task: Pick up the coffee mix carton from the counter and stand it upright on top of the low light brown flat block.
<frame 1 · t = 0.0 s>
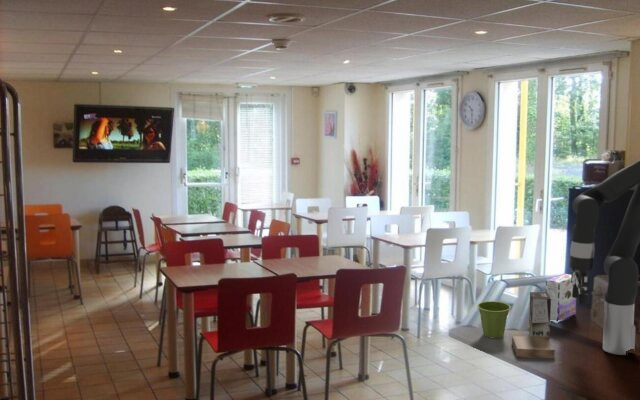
hand: (578, 301, 226), 17 cm above the counter, tool pointing down, fingers open, 8 cm apart
coffee box: (539, 338, 240), on the counter
candy box: (560, 318, 261), on the counter
light brown flat block: (532, 351, 228), on the counter
plant pot: (493, 336, 244), on the counter
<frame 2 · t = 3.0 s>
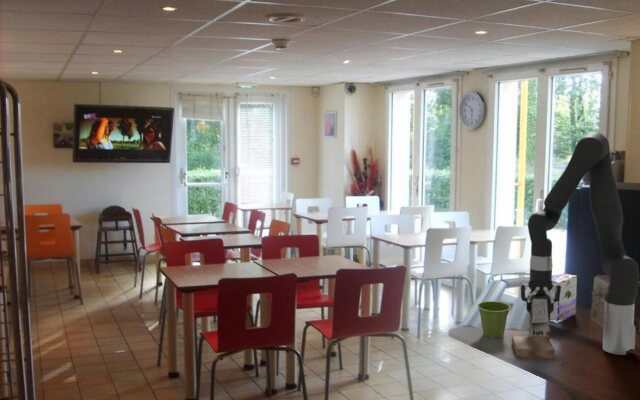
hand: (539, 312, 238), 10 cm above the counter, tool pointing down, fingers closed on coffee box, 6 cm apart
coffee box: (539, 338, 240), on the counter, touching gripper
everything else where it was.
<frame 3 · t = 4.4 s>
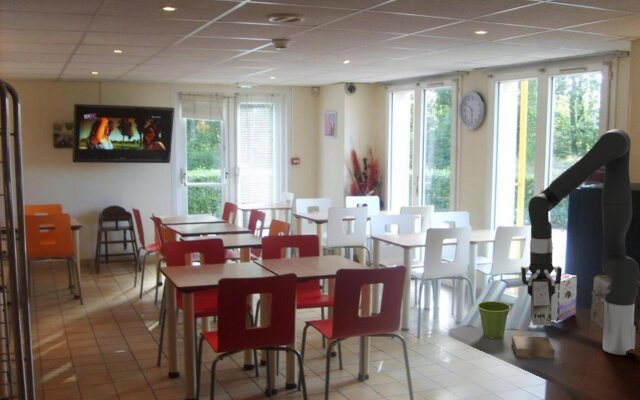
hand: (541, 295, 238), 16 cm above the counter, tool pointing down, fingers closed on coffee box, 6 cm apart
coffee box: (541, 321, 239), point 6 cm above the counter, touching gripper
everything else where it was.
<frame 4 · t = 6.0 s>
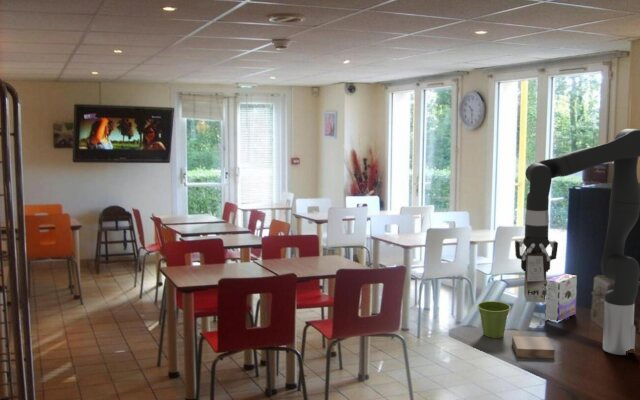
hand: (535, 270, 225), 28 cm above the counter, tool pointing down, fingers closed on coffee box, 6 cm apart
coffee box: (534, 299, 227), point 18 cm above the counter, touching gripper
everything else where it was.
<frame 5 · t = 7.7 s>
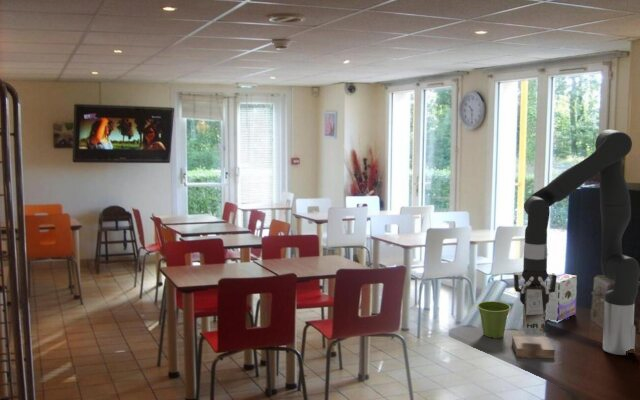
hand: (534, 303, 225), 17 cm above the counter, tool pointing down, fingers closed on coffee box, 6 cm apart
coffee box: (533, 331, 227), point 7 cm above the counter, touching gripper
everything else where it was.
when the fingers open (14 cm above the counter, at t = 8.8 s): coffee box drops 1 cm, resting on light brown flat block.
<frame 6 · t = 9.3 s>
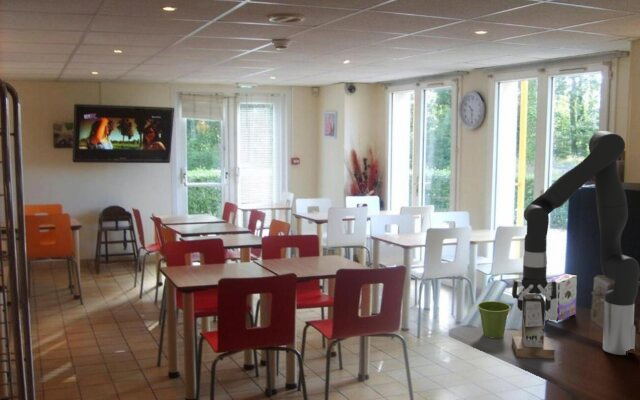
hand: (533, 310, 226), 15 cm above the counter, tool pointing down, fingers open, 8 cm apart
coffee box: (532, 343, 227), point 3 cm above the counter, touching light brown flat block
everything else where it was.
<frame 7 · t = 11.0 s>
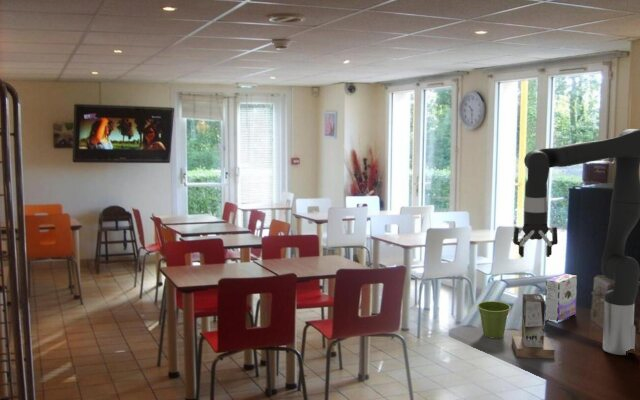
hand: (534, 256, 227), 32 cm above the counter, tool pointing down, fingers open, 8 cm apart
nothing on the counter moved.
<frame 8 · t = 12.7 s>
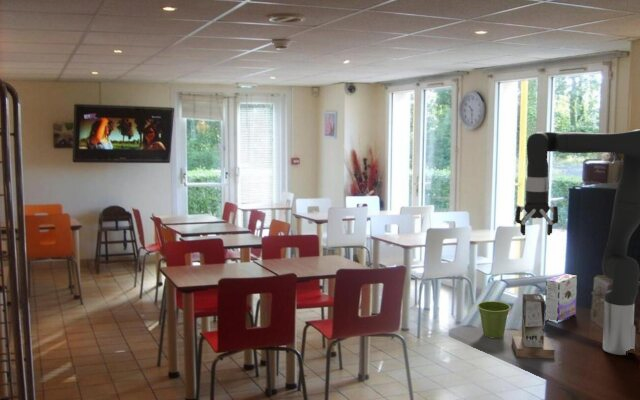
hand: (536, 234, 235), 38 cm above the counter, tool pointing down, fingers open, 8 cm apart
nothing on the counter moved.
at the end: coffee box inside the target area on the light brown flat block (0.1 cm from its centre), point 2.8 cm above the light brown flat block's base; coffee box tilted 0°; coffee box touching light brown flat block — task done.
